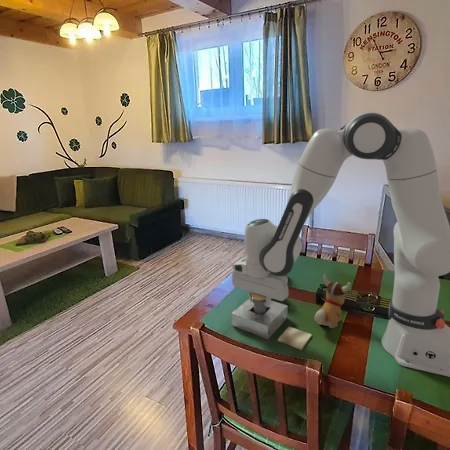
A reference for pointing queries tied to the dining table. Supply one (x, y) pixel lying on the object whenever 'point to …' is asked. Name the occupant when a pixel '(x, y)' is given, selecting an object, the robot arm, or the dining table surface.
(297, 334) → the coaster
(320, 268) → the dining table surface
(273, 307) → the housing
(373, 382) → the dining table surface
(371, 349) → the dining table surface
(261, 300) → the plug
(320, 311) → the toy
